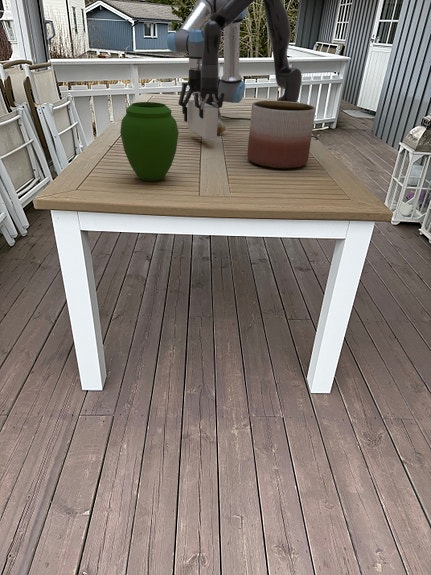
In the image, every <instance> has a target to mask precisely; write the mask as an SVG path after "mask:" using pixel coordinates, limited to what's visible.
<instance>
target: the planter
mask: <svg viewBox="0 0 431 575" xmlns="http://www.w3.org/2000/svg"><path fill="white" fill-rule="evenodd" d="M316 109H317V108H316V107H315V106H313V105H311V104H308V103H302V102H297V103H296V102H287V101H277V100H259V101H255V102H252V104H251V113H250V119H251V120H250V122H249V123H250V124H249V131H248V132H249V133H248V142H247V153H246V155H247V159H248V160H249V161H250V162H251V163H253V164H255V165H257V166H259V167H264V168H267V169H268V168H269V169H274V170H275V169H277V170H292V169H298V168H301V167H303V166H305V165H306V164H307V163H308V161H309V155H310V151H311V142H312V137H311V136H313V129H314V122H315V116H316Z"/></svg>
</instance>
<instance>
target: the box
mask: <svg viewBox="0 0 431 575" xmlns="http://www.w3.org/2000/svg"><path fill="white" fill-rule="evenodd" d="M200 102H201V101H199V105H200ZM187 107H188V109H187V129H188V130H190V131H191V132H192V133H195V134H196V135H198V136H199V137H201V138H203V139H204V140H217V139H218V134H217V123H218V108H215V107H213V106H211V105H209V104H205V105H204V108H203V118H200V117H199V108H197V107H195V102H194V99H189V101H188V103H187Z"/></svg>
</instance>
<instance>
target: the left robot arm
mask: <svg viewBox="0 0 431 575" xmlns="http://www.w3.org/2000/svg"><path fill="white" fill-rule="evenodd" d="M226 1H227V0H196V1H195V2H194V5H193V9H192V11H191V12H190V13H189V15H188V16H187V17H186V19H185V20H184V22H183V23H182V25H181V26H180V28H179V29H178V30H177V32H176V33H175V32H173V33H172V32H170V33H169V34H168V35H167V39H166V44H167V49H168V51H170V52H173V53H174V52H175V53H187V54H188V80H187V82H184V81H183V82H181V91H180V95H179V99H178V105H179V106H181V110H182V112H181V113H182V115H183V122H185V123H188V101H189V100H191V97H192V95H194V93H199V92H200V90H201V66H202V51H203V49H204V38H203V37H202V34H201V28H202V25H203V24H204V23H205V22H206V21H207V20H208V19H209V18H210V17H211V16H212V15H213V14H215V13H216V12H217V11H218V10H219V9H220V8H221V7H222V6H223V5H224V3H225V2H226ZM247 10H248V7H247V8H246V9H245V10H244V11H243V12H242V13H241V14H240V15H239V16H238V17H237V18H236V19H235V20H234V21H233V22H232V23H231V24H230V25H228V26H226V27H225V28H224V29H223V75H222V76H219V75H218V92H219V93H224V99H223V103H231V104H239V103H240V102H241V101H242V100H243V97H244V95H245V89H246V82H245V81H244V80H243V77H242V75H241V74H240V45H241V44H240V42H241V41H240V40H241V39H240V37H241V35H240V32H241V24H242V23H243V21H244V20H243V19H245V18H246V16H247ZM187 88H188V91H186V90H187ZM186 92H187V94H186ZM198 99H199V101H201V99H202V97H201V96H199V98H198ZM218 100H219V97H218V96H217V97H216V101H217V105H218ZM206 104H209V105H211V106H213V104H212V102H206ZM213 107H214V106H213ZM218 118H220V119H221V120H222V118H224V119H229V120H243V121H244V120H245V121H251V118H248V117H231V116H225V115H222V114H221V110H220V108H218Z"/></svg>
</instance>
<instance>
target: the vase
mask: <svg viewBox="0 0 431 575" xmlns="http://www.w3.org/2000/svg"><path fill="white" fill-rule="evenodd" d="M125 113H126V114H125V115H124V117H122V119H121V122H120V123H121V124H120V130H119V133H120V138H121V142H122V147H123V150H124V154H125V155H126V158H127V160H128V163H129V165H130V167H131V168H132V170H133V172H134V173H135V175H136V176H137V177H138V178H139V179H141V180H143V181H145V182H159V181H161V180H163V179H164V178H165V176H166V175H167V174H168V173H169V170H170V169H171V167H172V165H173V162H174V159H175V157H176V156H175V155H176V153H177V147H178V140H179V129H178V122H177V120H176V119H175V117H174V116H173V115H172V109H171V108H170V107H169V106H167V105H166V104H164V103H162V102H155V101H138V102H132V103H131V104H130V105H128V107H127V108H125Z"/></svg>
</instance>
